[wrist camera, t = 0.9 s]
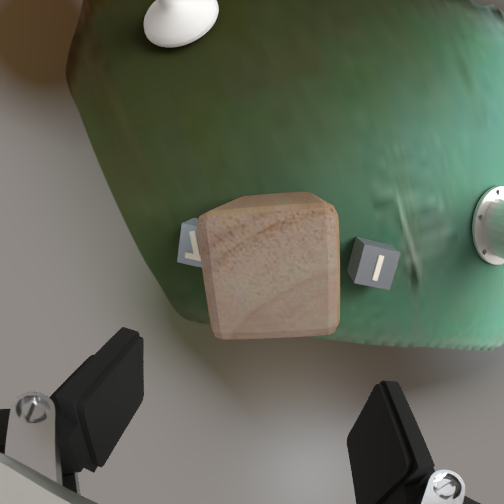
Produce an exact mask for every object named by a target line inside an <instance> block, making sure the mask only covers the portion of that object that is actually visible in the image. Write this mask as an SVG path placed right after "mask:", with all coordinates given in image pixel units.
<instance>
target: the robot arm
mask: <svg viewBox="0 0 504 504" xmlns="http://www.w3.org/2000/svg"><path fill="white" fill-rule="evenodd" d="M472 235H473V241H474V245H475V248H476V250H477V252H478V254H479V255H480V257H481V258H482V259H484V260H485V261H486V262H488V263H490V264H493V265H501V264H504V186H495V187H492V188H490V189H489V190H487V191H486V192H485V193H484V194H483V195H482V197H481V198H480V200H479V202H478V204H477V206H476V209H475V212H474V216H473V223H472ZM143 383H144V381H143V338H142V337H139V333H138V332H137V331H134V330H131V329H128V328H124V327H122V328H121V329H120V330H119V331H118V332H117V333H116V334H115V335H114V336H113V337H112V338H111V339H110V340H109V341H108V342H107V343H106V344H105V345H104V346H103V347H102V348H101V349H100V350H99V351H98V352H97V353H96V354H95V355H91V356H90V357H89V358H88V359H87V360H86V361H85V362H84V363H83V364H82V365H81V366H80V367H79V368H78V369H77V370H76V371H75V372H74V373H73V374H72V375H71V376H70V377H69V378H68V379H67V380H66V381H65V382H64V383H63V384H62V385H61V386H60V387H59V388H58V389H57V390H56V391H55V392H54V393H53V394H52V395H51V396H50V397H48V396H46V395H44V394H42V393H38V392H27V393H23V394H21V395H19V396H17V397H16V398H15V400H14V401H13V403H12V405H11V409H0V504H97V503H95V502H93V501H91V500H89V499H87V498H85V497H83V496H81V494H80V487H79V481H78V472H81V471H82V469H83V468H86V469H88V470H90V471H92V472H95V470H96V468H97V467H98V466H99V467H102V466H103V465H104V464H105V462H106V461H107V459H108V457H109V456H110V454H111V452H112V451H113V449H114V447H115V446H116V444H117V442H118V441H119V439H120V437H121V436H122V434H123V432H124V430H125V429H126V427H127V426H128V424H129V423H130V421H131V419H132V418H133V416H134V414H135V413H136V411H137V409H138V408H139V406H140V404H141V402H142V400H143V396H144V384H143ZM347 447H348V452H349V459H350V465H351V471H352V477H353V484H354V490H355V497H356V504H480V503H478V502H476V501H474V500H472V499H470V498H468V497H466V496H464V495H465V484H464V481H463V480H462V478H461V477H460V476H459V475H458V474H457V473H455V472H453V471H450V470H439V471H436V472H435V470H434V468H433V467H434V463H433V460H432V458H431V455H430V453H429V451H428V448H427V446H426V443H425V441H424V438H423V436H422V434H421V431H420V429H419V427H418V425H417V422H416V420H415V418H414V415H413V413H412V411H411V409H410V407H409V404H408V402H407V400H406V398H405V396H404V394H403V391H402V390H401V387H400V385H399V383H398V382H394V381H381V382H380V384H377V385H375V387H374V388H373V390H372V392H371V394H370V396H369V398H368V400H367V402H366V404H365V406H364V408H363V410H362V411H361V413H360V415H359V417H358V419H357V421H356V422H355V424H354V426H353V428H352V429H351V431H350V433H349V435H348V438H347Z"/></svg>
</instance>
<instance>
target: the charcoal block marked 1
mask: <svg viewBox="0 0 504 504" xmlns="http://www.w3.org/2000/svg"><path fill="white" fill-rule="evenodd" d="M400 254H401V252H399V251H398V250H396V249H395V248H394V247H392V246H391V245H389V244H386V243H382V242H378V241H374V240H370V239H365V238H361V237H357V236H356V238H355V242H354V246H353V250H352V253H351V257H350V261H349V265H348V268H347V273H348V274H349V276H350V277H351V279H352V281H353V282H354V283H356V284H361V285H366V286H371V287H376V288H381V289H386V290H390V287H391V284H392V281H393V278H394V275H395V271H396V268H397V265H398V261H399V258H400Z"/></svg>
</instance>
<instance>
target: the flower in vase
mask: <svg viewBox="0 0 504 504" xmlns="http://www.w3.org/2000/svg"><path fill="white" fill-rule="evenodd" d="M218 11H219V8H218V3H217V0H156V1H155V2H154V3H153V4H152V5H151V6H150V8H149V9H148V11H147V13H146V15H145V18H144V31H145V34H146V36H147V38H148V39H149V40H150V41H151V42H152V43H154V44H155V45H158V46H161V47H179V46H183V45H187V44H189V43H191V42H193V41H195V40H197V39H199V38H200V37H202V36H203V35H204V34H206V33H207V32H208V31H209V30H210V28H211V27H212V26H213V24H214V23H215V21H216V19H217V16H218Z"/></svg>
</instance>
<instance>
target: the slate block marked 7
mask: <svg viewBox="0 0 504 504" xmlns="http://www.w3.org/2000/svg"><path fill="white" fill-rule="evenodd" d="M197 223H198V219H197V218H192V219H190V220H188V221H186V222H184V223H182V226H181V234H180V242H179V250H178V258H177V262H179V263H183V264H188V265H192V266H196V267H201V268H202V264H201V257H200V249H199V242H198V234H197Z"/></svg>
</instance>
